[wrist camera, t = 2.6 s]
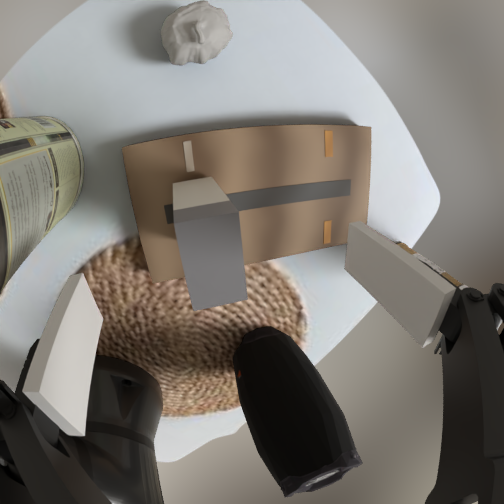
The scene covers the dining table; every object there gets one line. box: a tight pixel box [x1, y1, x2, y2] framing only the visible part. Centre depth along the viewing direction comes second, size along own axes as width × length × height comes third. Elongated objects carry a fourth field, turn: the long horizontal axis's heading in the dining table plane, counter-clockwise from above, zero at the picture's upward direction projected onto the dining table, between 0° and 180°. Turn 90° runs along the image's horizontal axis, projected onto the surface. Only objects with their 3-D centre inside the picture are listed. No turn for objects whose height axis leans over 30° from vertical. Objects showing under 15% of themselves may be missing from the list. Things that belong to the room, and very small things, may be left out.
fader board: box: [122, 124, 371, 283], centre depth 23 cm, size 22×12×2 cm, turn 94°
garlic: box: [161, 1, 233, 65], centre depth 14 cm, size 6×5×5 cm
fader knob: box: [173, 177, 248, 311], centre depth 17 cm, size 3×5×9 cm, turn 4°
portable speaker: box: [233, 326, 362, 497], centre depth 25 cm, size 9×9×20 cm
